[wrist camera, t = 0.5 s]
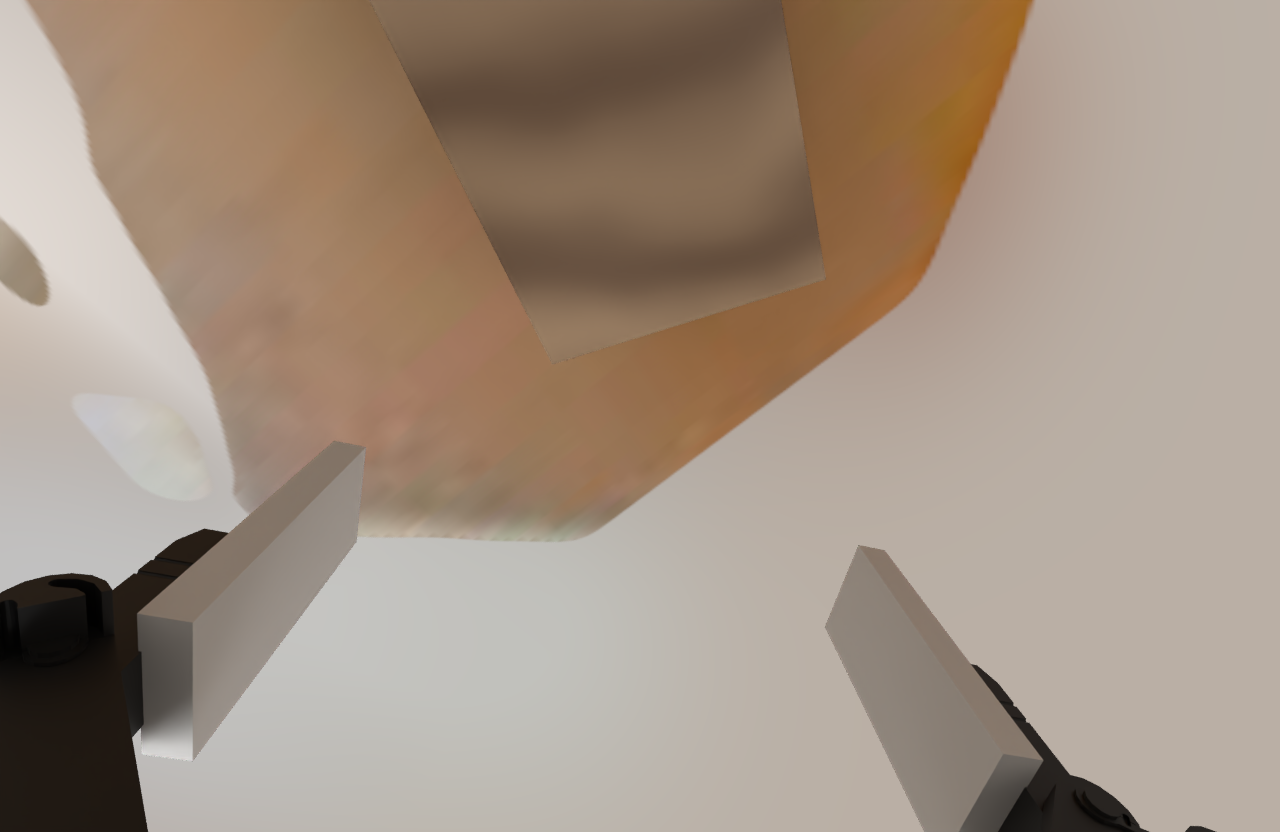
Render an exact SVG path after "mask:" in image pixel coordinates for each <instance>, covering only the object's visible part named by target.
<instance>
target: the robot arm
mask: <svg viewBox="0 0 1280 832" xmlns="http://www.w3.org/2000/svg"><path fill="white" fill-rule="evenodd" d="M365 452H366V447H363V446H358V445H353V444H348V443H343V442H338V441H333V442H332V443H331V444H330V445H329V446H328V447H327V448H325V449H324V450H323V451H322V452H321V453H320V454H319V455H317V456H316V457H315V458H314V459H313V460H312V461H311V462H309V463H308V464H307V465H306V466H305V467H304V468H303V469H301V470H300V471H299V472H298V473H297V474H296V475H295V476H294V477H292V478H291V479H290V480H289V481H288V482H287V483H286V484H284V485H283V486H282V487H281V488H280V489H279V490H278V491H276V492H275V493H274V494H273V495H272V496H271V497H270V498H268V499H267V500H266V501H265V502H264V503H263V504H262V505H260V506H259V507H258V508H257V509H256V510H255V511H254V512H252V513H251V514H250V515H249V516H248V517H247V518H246V519H244V520H243V521H242V522H241V523H240V524H239V525H238V526H236V527H235V528H234V529H233V530H232V531H231V532H230V533H226V532H220V531H215V530H208V529H202V530H200V531H198V532H195V533H193V534H190V535H188V536H186V537H183V538H181V539H178V540H176V541H175V542H173V543H172V544H171V545H169V546H168V547H167V548H166V549H165V550H163V551H162V552H161V553H159V554H158V555H157V556H155V559H154V560H150V561H149V562H148V563H147V564H145V565H144V566H143V567H142V568H140V569H139V570H138V573H137V574H133V575H131V576H130V577H129V578H128V579H126V580H125V581H124V582H122V583H121V584H120V585H119V586H117V587H116V588H115V589H114V590H112V589H111V587H110V586H109V584H108V583H107V582H106V581H105V580H102V579H100V578H98V577H95V576H93V575H84V574H74V573H70V574H60V575H50V576H45V577H41V578H37V579H33V580H29V581H25V582H23V583H20V584H18V585H16V586H14V587H11V588H9V589H7V590H5V591H3V592H1V593H0V832H148V829H147V823H146V817H145V811H144V805H143V799H142V794H141V788H140V782H139V776H138V770H137V764H136V758H135V753H134V747H133V741H132V737H133V736H134V735H135V734H136V732H137V731H138V730H139V729H140V728H141V741H142V742H141V744H142V754H143V755H150V756H158V757H165V758H172V759H179V760H186V761H193V760H194V759H195V757H196V756H197V755H198V753H199V752H200V751H201V749H202V748H203V747H204V745H205V744H206V743H207V741H208V740H209V738H210V737H211V736H212V735H213V733H214V732H215V731H216V729H217V728H218V726H219V725H220V724H221V722H222V721H223V720H224V719H225V717H226V716H227V714H228V713H229V712H230V710H231V709H232V708H233V706H234V705H235V704H236V702H237V701H238V699H239V698H240V697H241V696H242V694H243V693H244V692H245V690H246V689H247V688H248V686H249V685H250V684H251V682H252V681H253V679H254V678H255V677H256V675H257V674H258V673H259V672H260V670H261V669H262V668H263V666H264V665H265V664H266V662H267V661H268V659H269V658H270V657H271V655H272V654H273V653H274V651H275V650H276V649H277V647H278V646H279V645H280V643H281V642H282V641H283V639H284V638H285V637H286V635H287V634H288V633H289V631H290V630H291V629H292V627H293V626H294V625H295V623H296V622H297V621H298V619H299V618H300V616H301V615H302V614H303V613H304V611H305V610H306V609H307V607H308V606H309V604H310V603H311V602H312V601H313V599H314V598H315V596H316V595H317V594H318V593H319V591H320V590H321V588H322V587H323V586H324V584H325V583H326V582H327V580H328V579H329V578H330V576H331V575H332V574H333V572H334V571H335V570H336V568H337V567H338V565H339V564H340V563H341V562H342V560H343V559H344V558H345V556H346V555H347V554H348V552H349V551H350V550H351V548H352V547H353V545H354V544H355V543H356V540H357V530H358V521H359V511H360V501H361V491H362V482H363V472H364V462H365ZM825 628H826V630H827V632H828V634H829V636H830V638H831V640H832V642H833V644H834V646H835V649H836V651H837V653H838V655H839V657H840V659H841V661H842V663H843V665H844V667H845V669H846V671H847V673H848V675H849V677H850V679H851V682H852V684H853V686H854V688H855V690H856V692H857V694H858V696H859V698H860V700H861V702H862V704H863V706H864V708H865V710H866V713H867V715H868V717H869V719H870V721H871V723H872V725H873V727H874V729H875V731H876V733H877V735H878V737H879V739H880V741H881V743H882V745H883V748H884V749H885V752H886V754H887V756H888V758H889V760H890V762H891V764H892V766H893V768H894V770H895V772H896V774H897V776H898V779H899V781H900V782H901V785H902V787H903V789H904V791H905V793H906V795H907V797H908V799H909V801H910V803H911V805H912V807H913V809H914V811H915V813H916V815H917V818H918V820H919V822H920V824H921V826H922V828H923V830H924V832H1148V831H1146V830H1144V829H1141V828H1140V826H1139V824H1138V823H1137V821H1136V820H1135V819H1134V817H1133V816H1132V815H1131V813H1130V812H1129V811H1128V810H1127V809H1126V808H1125V807H1124V806H1123V805H1122V804H1121V803H1120V802H1119V801H1118V800H1117V799H1116V798H1114V797H1113V796H1112V795H1110V794H1109V793H1108V792H1106V791H1105V790H1103V789H1102V788H1101V787H1099V786H1097V785H1095V784H1093V783H1091V782H1089V781H1087V780H1085V779H1083V778H1080V777H1076V776H1072V775H1070V774H1069V773H1068V772H1067V771H1066V770H1065V768H1064V767H1063V766H1062V764H1061V763H1060V762H1059V760H1058V759H1057V758H1056V757H1055V755H1054V754H1053V753H1052V752H1051V750H1050V749H1049V748H1048V746H1047V745H1046V744H1045V743H1044V741H1043V740H1042V739H1041V737H1040V736H1039V735H1038V734H1037V733H1036V731H1035V730H1034V728H1033V727H1032V726H1031V725H1030V723H1027V722H1026V718H1025V717H1024V716H1023V715H1022V713H1021V712H1020V711H1019V709H1018V708H1017V707H1015V706H1013V702H1012V700H1011V699H1010V698H1009V697H1008V695H1007V694H1006V693H1005V692H1004V691H1003V689H1002V688H1001V686H1000V685H999V684H998V683H997V682H996V681H995V680H993V679H992V678H991V677H990V676H989V675H988V674H987V673H985V672H984V671H983V670H982V669H981V668H979V667H978V666H977V665H972V664H970V663H969V661H968V660H967V659H966V657H965V656H964V655H963V653H962V652H961V651H960V650H959V648H958V647H957V645H956V644H955V643H954V641H953V640H952V639H951V637H950V636H949V635H948V633H947V632H946V631H945V630H944V628H943V627H942V626H941V624H940V623H939V622H938V620H937V619H936V618H935V616H934V615H933V614H932V613H931V611H930V610H929V608H928V607H927V606H926V604H925V603H924V602H923V600H922V599H921V598H920V596H919V595H918V594H917V593H916V591H915V590H914V589H913V587H912V586H911V585H910V583H909V582H908V581H907V579H906V578H905V577H904V575H903V574H902V573H901V571H900V570H899V569H898V567H897V566H896V565H895V563H894V562H893V561H892V559H891V558H890V557H889V555H888V554H887V553H886V552H885V551H884V550H880V549H875V548H870V547H865V546H860V545H858V548H857V550H856V553H855V555H854V558H853V560H852V563H851V565H850V567H849V570H848V572H847V575H846V577H845V580H844V582H843V584H842V587H841V589H840V592H839V594H838V597H837V599H836V601H835V604H834V607H833V609H832V611H831V613H830V616H829V618H828V621H827V623H826V626H825ZM1185 832H1215V831H1213V830H1210V829H1207V828H1204V827H1201V826H1190V827H1189V828H1188V829H1187V830H1186V831H1185Z"/></svg>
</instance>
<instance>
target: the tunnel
mask: <svg viewBox="0 0 1280 832" xmlns="http://www.w3.org/2000/svg"><path fill="white" fill-rule="evenodd" d="M369 1H370V3H371V5H372V7H373V9H374V11H375V13H376V15H377V17H378V19H379V21H380V23H381V25H382V27H383V29H384V31H385V33H386V35H387V37H388V39H389V41H390V43H391V45H392V47H393V49H394V51H395V53H396V55H397V57H398V59H399V61H400V63H401V65H402V67H403V69H404V71H405V73H406V75H407V77H408V79H409V81H410V83H411V85H412V87H413V88H414V90H415V92H416V94H417V96H418V98H419V100H420V102H421V104H422V106H423V108H424V110H425V112H426V114H427V116H428V118H429V120H430V122H431V124H432V126H433V128H434V130H435V132H436V134H437V136H438V138H439V140H440V142H441V144H442V146H443V148H444V150H445V152H446V154H447V156H448V158H449V160H450V162H451V164H452V166H453V168H454V170H455V172H456V174H457V176H458V178H459V180H460V182H461V184H462V186H463V188H464V190H465V192H466V194H467V196H468V198H469V200H470V202H471V204H472V206H473V208H474V210H475V212H476V214H477V216H478V218H479V220H480V222H481V224H482V226H483V228H484V230H485V232H486V234H487V236H488V238H489V240H490V242H491V244H492V246H493V248H494V250H495V252H496V254H497V256H498V258H499V260H500V262H501V264H502V266H503V268H504V270H505V272H506V274H507V276H508V278H509V280H510V282H511V284H512V285H513V287H514V289H515V291H516V293H517V295H518V297H519V299H520V301H521V303H522V305H523V307H524V309H525V311H526V313H527V315H528V317H529V319H530V321H531V323H532V325H533V327H534V329H535V331H536V333H537V335H538V337H539V339H540V341H541V343H542V345H543V347H544V349H545V351H546V353H547V355H548V357H549V359H550V361H551V363H552V364H555V363H559V362H562V361H565V360H568V359H571V358H575V357H578V356H581V355H584V354H588V353H591V352H594V351H597V350H600V349H604V348H607V347H610V346H613V345H616V344H620V343H623V342H626V341H629V340H632V339H636V338H639V337H642V336H645V335H648V334H652V333H655V332H658V331H661V330H665V329H668V328H671V327H674V326H677V325H681V324H684V323H687V322H690V321H693V320H697V319H700V318H703V317H706V316H709V315H713V314H716V313H719V312H722V311H726V310H729V309H732V308H735V307H738V306H742V305H745V304H748V303H751V302H754V301H758V300H761V299H764V298H767V297H770V296H774V295H777V294H780V293H783V292H787V291H790V290H793V289H796V288H799V287H803V286H806V285H809V284H812V283H815V282H819V281H822V280H825V279H826V277H825V271H824V264H823V258H822V252H821V246H820V239H819V233H818V227H817V221H816V215H815V208H814V202H813V196H812V190H811V183H810V177H809V171H808V165H807V159H806V152H805V146H804V140H803V134H802V127H801V121H800V115H799V109H798V102H797V96H796V90H795V84H794V78H793V71H792V65H791V59H790V53H789V46H788V40H787V34H786V28H785V22H784V15H783V9H782V3H781V0H369Z"/></svg>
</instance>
